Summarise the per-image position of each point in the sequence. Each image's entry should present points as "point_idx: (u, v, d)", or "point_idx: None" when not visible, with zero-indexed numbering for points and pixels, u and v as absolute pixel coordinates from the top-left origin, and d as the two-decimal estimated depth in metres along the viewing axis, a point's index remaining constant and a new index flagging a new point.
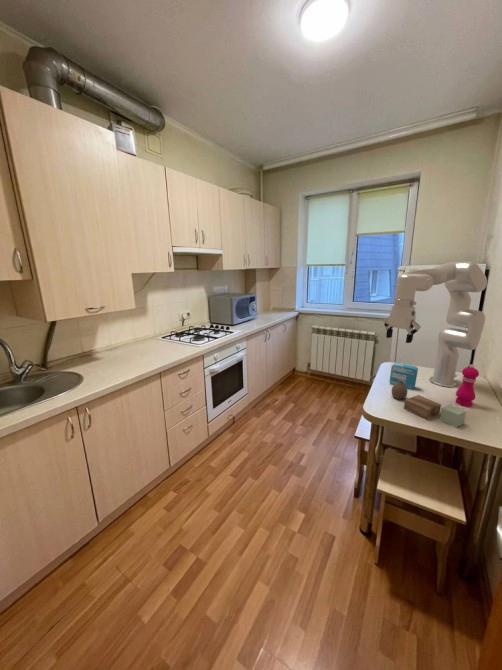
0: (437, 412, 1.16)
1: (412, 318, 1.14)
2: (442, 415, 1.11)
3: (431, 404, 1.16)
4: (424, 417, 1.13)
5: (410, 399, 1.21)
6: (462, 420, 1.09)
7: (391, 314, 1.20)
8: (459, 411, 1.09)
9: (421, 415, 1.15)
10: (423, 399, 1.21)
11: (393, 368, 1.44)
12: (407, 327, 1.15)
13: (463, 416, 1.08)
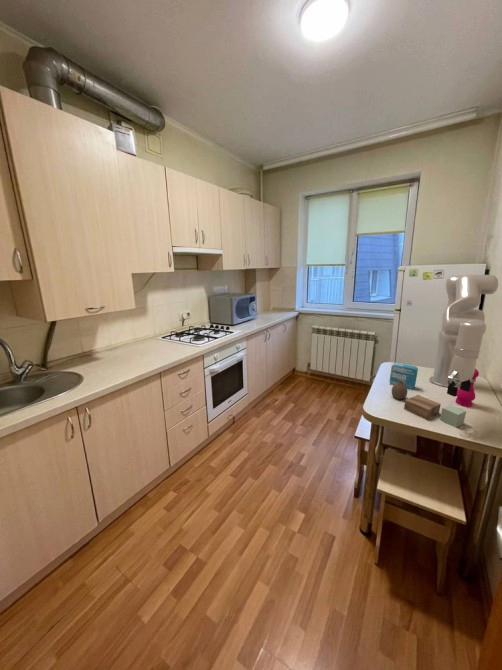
0: (437, 412, 1.17)
1: None
2: (442, 415, 1.11)
3: (431, 404, 1.16)
4: (425, 417, 1.13)
5: (410, 399, 1.21)
6: (462, 420, 1.09)
7: (465, 369, 1.01)
8: (459, 411, 1.09)
9: (422, 415, 1.14)
10: (423, 399, 1.21)
11: (393, 368, 1.44)
12: (472, 376, 1.06)
13: (463, 416, 1.08)
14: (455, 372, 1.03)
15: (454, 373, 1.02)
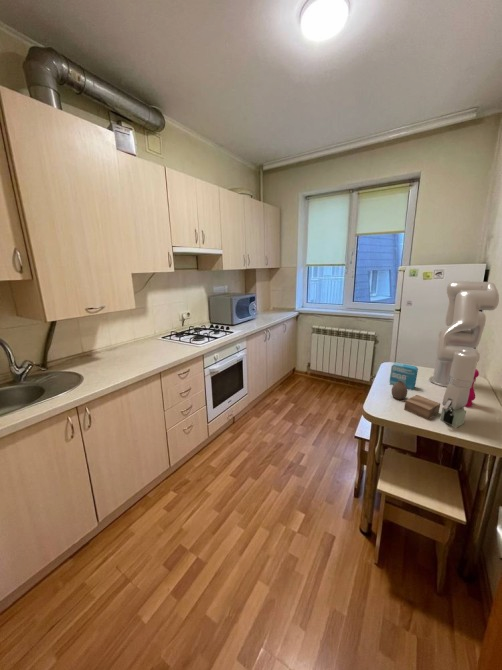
0: (437, 412, 1.17)
1: None
2: (443, 415, 1.11)
3: (431, 404, 1.16)
4: (426, 417, 1.13)
5: (410, 399, 1.20)
6: (462, 420, 1.09)
7: (458, 397, 1.04)
8: (459, 411, 1.08)
9: (423, 416, 1.14)
10: (422, 399, 1.21)
11: (393, 368, 1.44)
12: (466, 403, 1.09)
13: (463, 416, 1.08)
14: (449, 401, 1.06)
15: (448, 403, 1.06)
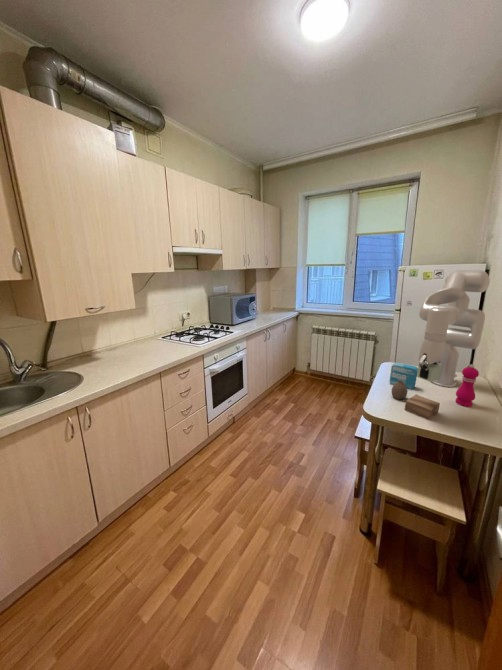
0: (436, 411, 1.17)
1: None
2: (419, 371, 1.15)
3: (431, 403, 1.17)
4: (427, 417, 1.13)
5: (410, 400, 1.20)
6: (437, 375, 1.13)
7: (433, 352, 1.08)
8: (434, 366, 1.12)
9: (424, 416, 1.14)
10: (422, 399, 1.21)
11: (393, 368, 1.44)
12: (441, 358, 1.13)
13: (438, 371, 1.12)
14: (424, 356, 1.10)
15: (423, 357, 1.10)
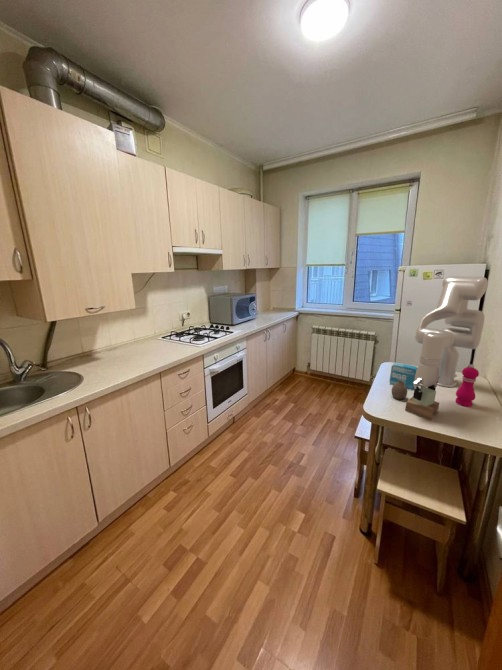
0: (436, 411, 1.18)
1: None
2: None
3: None
4: (428, 418, 1.13)
5: (410, 400, 1.20)
6: (432, 400, 1.16)
7: (428, 376, 1.11)
8: (429, 391, 1.16)
9: (425, 416, 1.14)
10: None
11: (393, 368, 1.44)
12: (436, 381, 1.16)
13: (433, 396, 1.16)
14: (419, 378, 1.13)
15: (418, 379, 1.13)
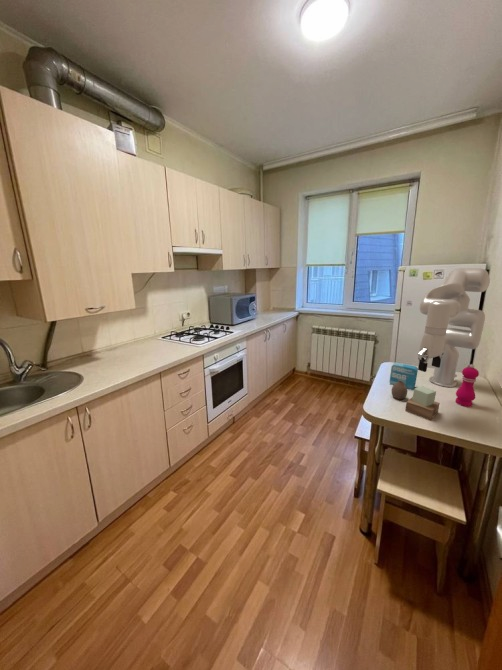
0: (436, 411, 1.17)
1: None
2: (414, 396, 1.18)
3: (432, 404, 1.17)
4: (428, 418, 1.13)
5: (411, 400, 1.20)
6: (432, 400, 1.16)
7: (433, 346, 1.08)
8: (429, 391, 1.15)
9: (425, 416, 1.14)
10: None
11: (393, 368, 1.44)
12: (442, 353, 1.13)
13: (433, 396, 1.15)
14: (425, 349, 1.09)
15: (424, 350, 1.09)
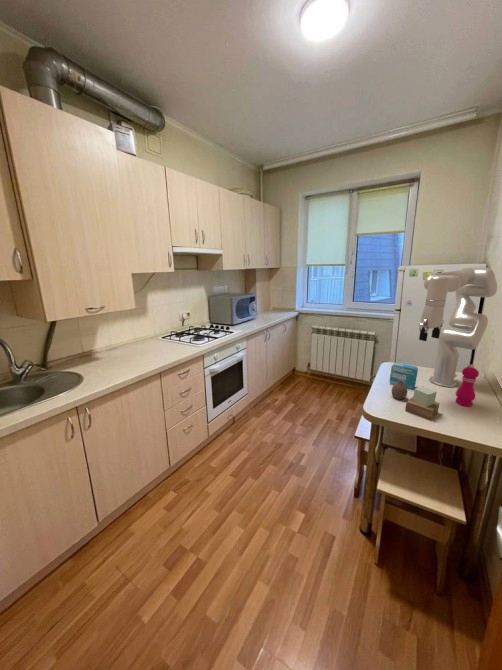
0: (436, 411, 1.17)
1: None
2: (415, 396, 1.18)
3: None
4: (428, 418, 1.13)
5: (411, 401, 1.19)
6: (433, 400, 1.16)
7: (433, 316, 1.19)
8: (429, 391, 1.15)
9: (425, 416, 1.14)
10: None
11: (393, 368, 1.44)
12: (441, 324, 1.24)
13: (433, 396, 1.15)
14: (425, 320, 1.20)
15: (424, 320, 1.20)
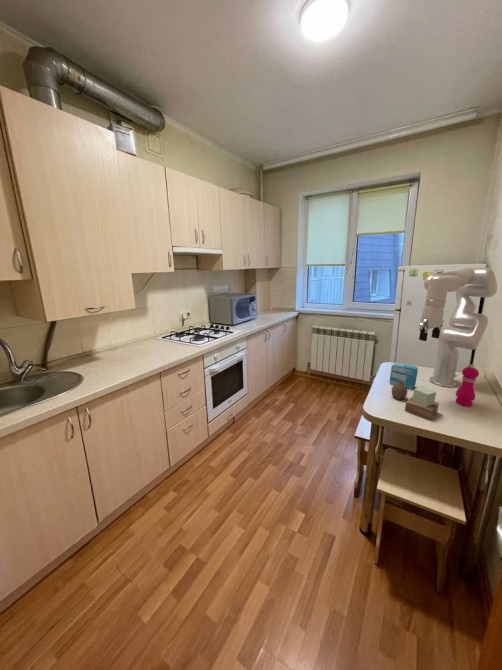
0: (436, 411, 1.17)
1: None
2: (414, 396, 1.18)
3: None
4: (428, 418, 1.13)
5: (410, 401, 1.19)
6: (432, 401, 1.16)
7: (433, 316, 1.19)
8: (429, 391, 1.15)
9: (424, 416, 1.14)
10: None
11: (393, 368, 1.44)
12: (441, 324, 1.24)
13: (433, 396, 1.15)
14: (425, 320, 1.20)
15: (424, 320, 1.20)
